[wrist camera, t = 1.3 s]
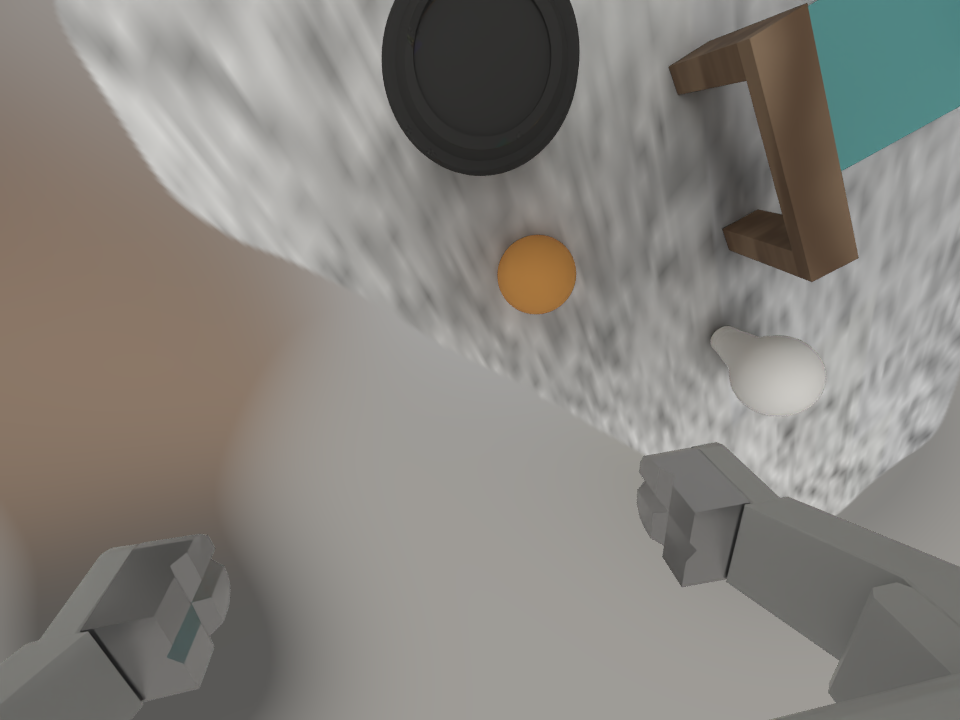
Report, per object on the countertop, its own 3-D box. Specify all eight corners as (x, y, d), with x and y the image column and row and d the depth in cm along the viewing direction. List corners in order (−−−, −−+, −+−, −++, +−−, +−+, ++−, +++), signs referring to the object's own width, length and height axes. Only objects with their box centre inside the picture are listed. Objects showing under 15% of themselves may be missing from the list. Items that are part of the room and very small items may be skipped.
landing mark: (991, -108, 29) (995, -109, 29) (1000, 82, 34) (1003, 82, 34) (805, 7, 31) (808, 6, 31) (839, 171, 36) (841, 171, 36)
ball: (546, 213, 36) (563, 226, 31) (578, 277, 38) (598, 299, 33) (480, 253, 37) (485, 272, 32) (515, 312, 39) (525, 339, 34)
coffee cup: (560, 95, 33) (637, 63, 19) (471, 191, 35) (483, 221, 22) (470, -19, 29) (485, -155, 16) (379, 94, 32) (326, 59, 18)
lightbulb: (758, 349, 42) (851, 412, 33) (694, 375, 43) (766, 444, 33) (746, 292, 40) (844, 342, 30) (679, 320, 41) (753, 378, 31)
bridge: (709, 41, 32) (806, 2, 23) (764, 231, 38) (858, 257, 29) (668, 66, 32) (749, 38, 23) (729, 249, 38) (811, 281, 29)
